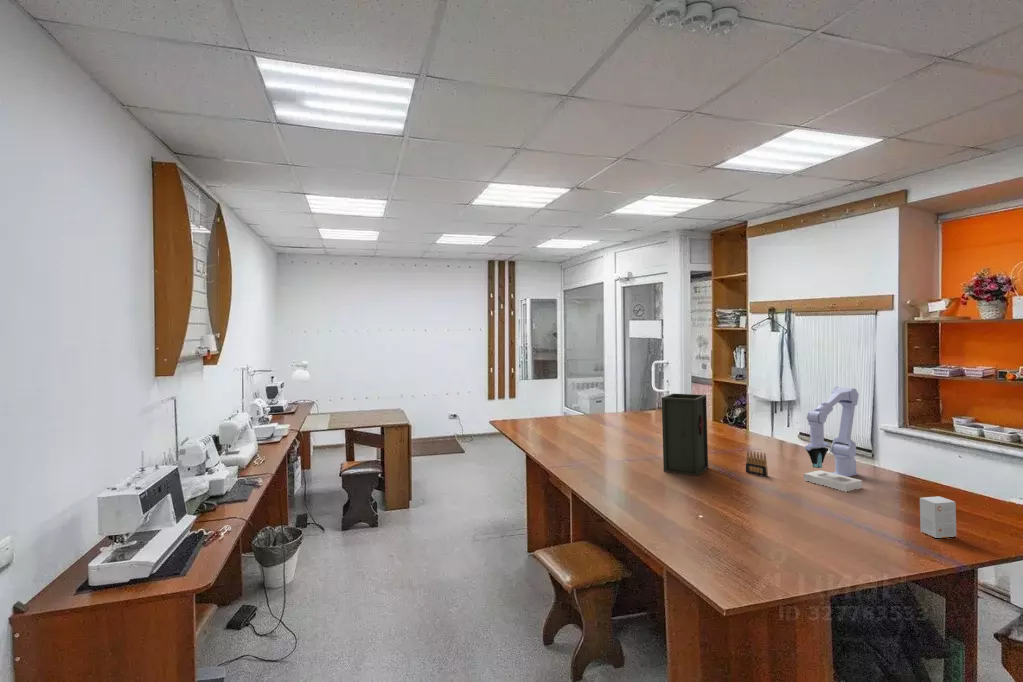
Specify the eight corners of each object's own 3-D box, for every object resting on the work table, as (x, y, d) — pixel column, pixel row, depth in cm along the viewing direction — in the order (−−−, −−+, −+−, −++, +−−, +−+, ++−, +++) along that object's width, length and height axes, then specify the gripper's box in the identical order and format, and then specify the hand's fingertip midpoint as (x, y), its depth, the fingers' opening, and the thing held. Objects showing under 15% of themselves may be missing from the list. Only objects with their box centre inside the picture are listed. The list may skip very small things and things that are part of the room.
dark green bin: (674, 463, 284) (672, 393, 283) (708, 467, 273) (706, 395, 272) (663, 471, 269) (661, 397, 268) (698, 476, 258) (696, 399, 257)
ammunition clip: (767, 476, 254) (767, 452, 254) (766, 476, 253) (765, 453, 253) (747, 471, 263) (746, 449, 262) (745, 472, 262) (745, 449, 261)
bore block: (820, 477, 250) (819, 470, 250) (862, 487, 231) (861, 480, 231) (804, 480, 245) (804, 473, 245) (845, 492, 227) (845, 484, 226)
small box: (939, 531, 182) (939, 495, 182) (957, 538, 176) (956, 501, 176) (919, 532, 181) (919, 497, 181) (936, 539, 175) (935, 503, 175)
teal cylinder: (816, 465, 246) (815, 451, 246) (824, 467, 242) (823, 453, 242) (810, 466, 244) (810, 452, 244) (818, 468, 241) (818, 454, 241)
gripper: (814, 438, 236) (815, 467, 237) (834, 435, 242) (835, 462, 243) (801, 436, 243) (801, 463, 243) (820, 432, 249) (821, 459, 249)
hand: (817, 463), depth 243 cm, fingers closed on teal cylinder, 4 cm apart
